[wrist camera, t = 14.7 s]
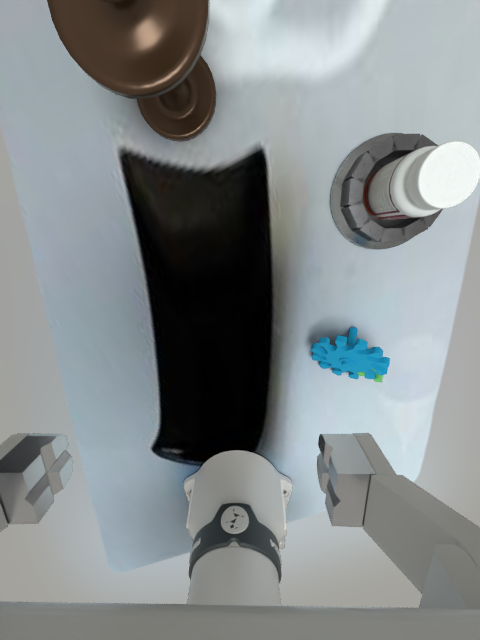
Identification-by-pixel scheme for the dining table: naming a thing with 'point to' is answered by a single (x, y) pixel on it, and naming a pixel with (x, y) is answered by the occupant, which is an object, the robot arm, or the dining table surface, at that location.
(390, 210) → the pill bottle
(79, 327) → the dining table surface
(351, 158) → the notched hollow ring
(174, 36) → the candlestick
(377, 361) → the gear
